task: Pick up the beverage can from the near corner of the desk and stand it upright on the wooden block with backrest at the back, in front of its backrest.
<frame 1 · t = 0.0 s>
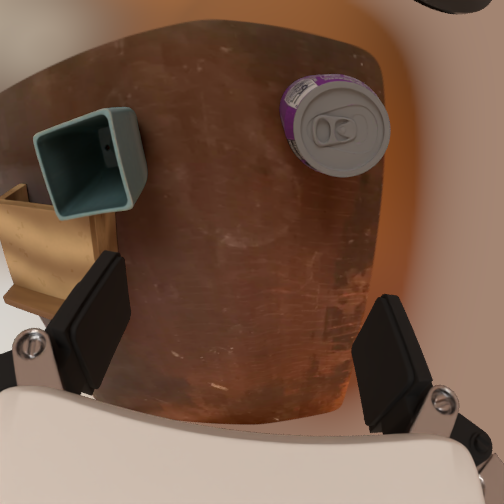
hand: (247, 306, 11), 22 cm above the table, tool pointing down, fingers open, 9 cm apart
flower pot: (122, 144, 30), on the table
beverage can: (315, 110, 27), on the table
wooden block with backrest: (67, 234, 36), on the table
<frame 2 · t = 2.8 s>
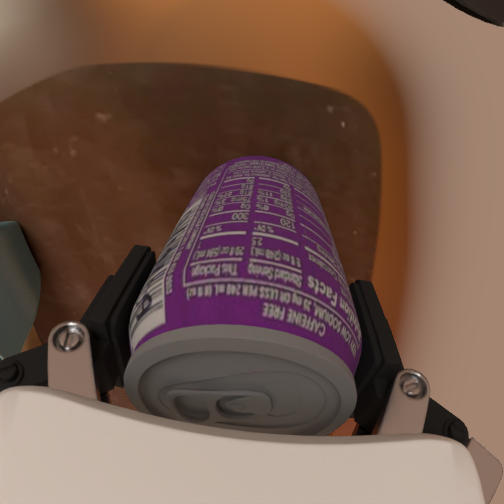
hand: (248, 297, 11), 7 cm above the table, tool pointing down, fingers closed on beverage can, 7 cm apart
flower pot: (15, 249, 20), on the table
beverage can: (257, 211, 18), on the table, touching gripper
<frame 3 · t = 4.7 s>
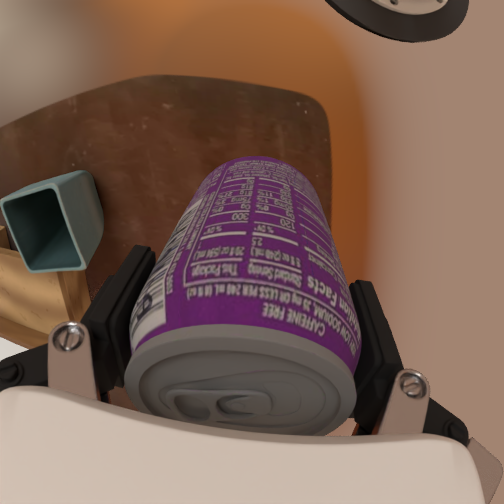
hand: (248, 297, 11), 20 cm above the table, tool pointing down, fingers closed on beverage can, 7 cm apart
flower pot: (82, 197, 32), on the table
beverage can: (257, 212, 18), point 13 cm above the table, touching gripper
wooden block with backrest: (44, 273, 38), on the table
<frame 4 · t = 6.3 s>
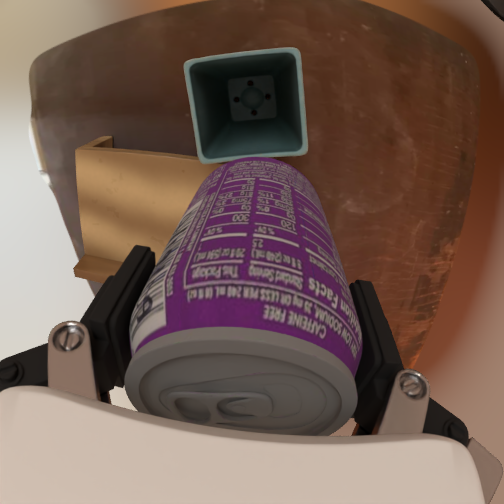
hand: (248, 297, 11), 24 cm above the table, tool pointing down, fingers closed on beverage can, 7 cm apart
flower pot: (253, 98, 29), on the table
beverage can: (257, 212, 18), point 17 cm above the table, touching gripper
wooden block with backrest: (161, 196, 35), on the table
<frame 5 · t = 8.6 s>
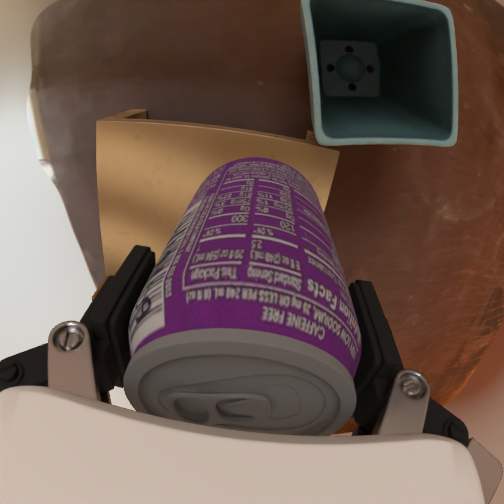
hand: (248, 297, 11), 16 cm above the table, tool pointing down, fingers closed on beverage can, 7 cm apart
flower pot: (349, 69, 20), on the table
beverage can: (256, 213, 18), point 9 cm above the table, touching gripper
wooden block with backrest: (215, 195, 26), on the table
when the fingers open (13 cm above the table, at t = 10.0 s): beverage can stays where it is, resting on wooden block with backrest.
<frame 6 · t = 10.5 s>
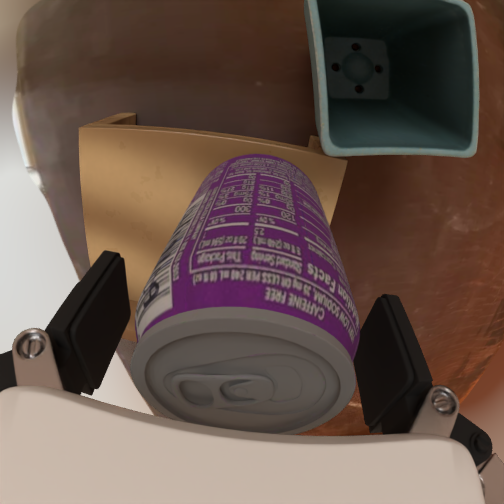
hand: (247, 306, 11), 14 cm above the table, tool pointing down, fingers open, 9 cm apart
flower pot: (356, 69, 18), on the table
beverage can: (257, 208, 18), point 6 cm above the table, touching wooden block with backrest
wooden block with backrest: (210, 205, 25), on the table
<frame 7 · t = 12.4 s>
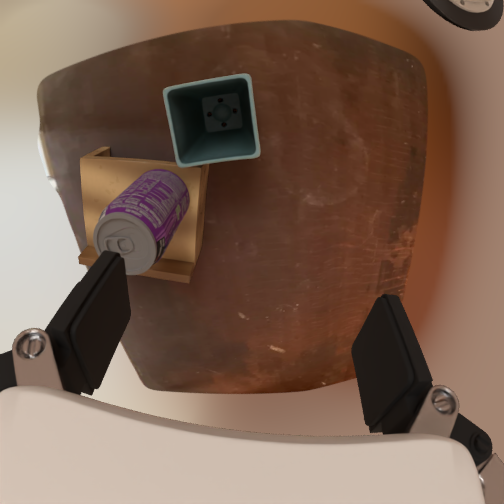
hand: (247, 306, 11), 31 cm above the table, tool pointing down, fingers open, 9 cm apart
flower pot: (223, 112, 36), on the table
beverage can: (162, 194, 35), point 6 cm above the table, touching wooden block with backrest
wooden block with backrest: (151, 196, 42), on the table
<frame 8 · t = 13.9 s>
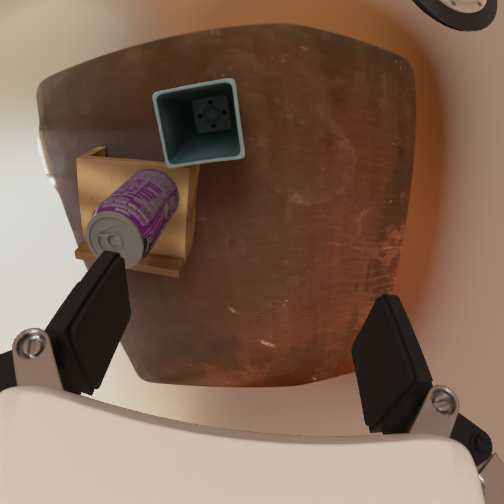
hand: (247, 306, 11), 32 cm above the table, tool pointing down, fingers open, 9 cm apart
flower pot: (213, 114, 37), on the table
beverage can: (154, 193, 37), point 6 cm above the table, touching wooden block with backrest
wooden block with backrest: (145, 194, 43), on the table
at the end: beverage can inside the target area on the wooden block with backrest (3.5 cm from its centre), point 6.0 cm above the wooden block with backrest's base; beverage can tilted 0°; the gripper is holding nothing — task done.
